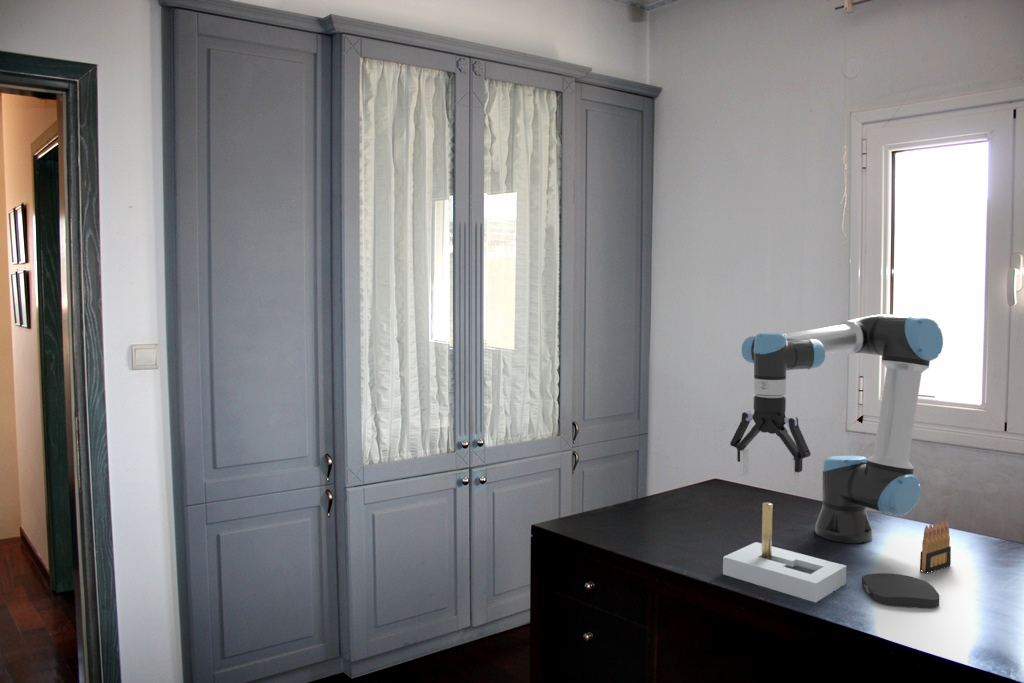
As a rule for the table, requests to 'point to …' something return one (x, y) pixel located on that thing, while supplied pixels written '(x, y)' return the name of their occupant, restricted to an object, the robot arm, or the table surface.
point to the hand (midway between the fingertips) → (768, 479)
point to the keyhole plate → (786, 572)
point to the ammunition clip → (935, 547)
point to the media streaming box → (900, 590)
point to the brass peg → (767, 530)
